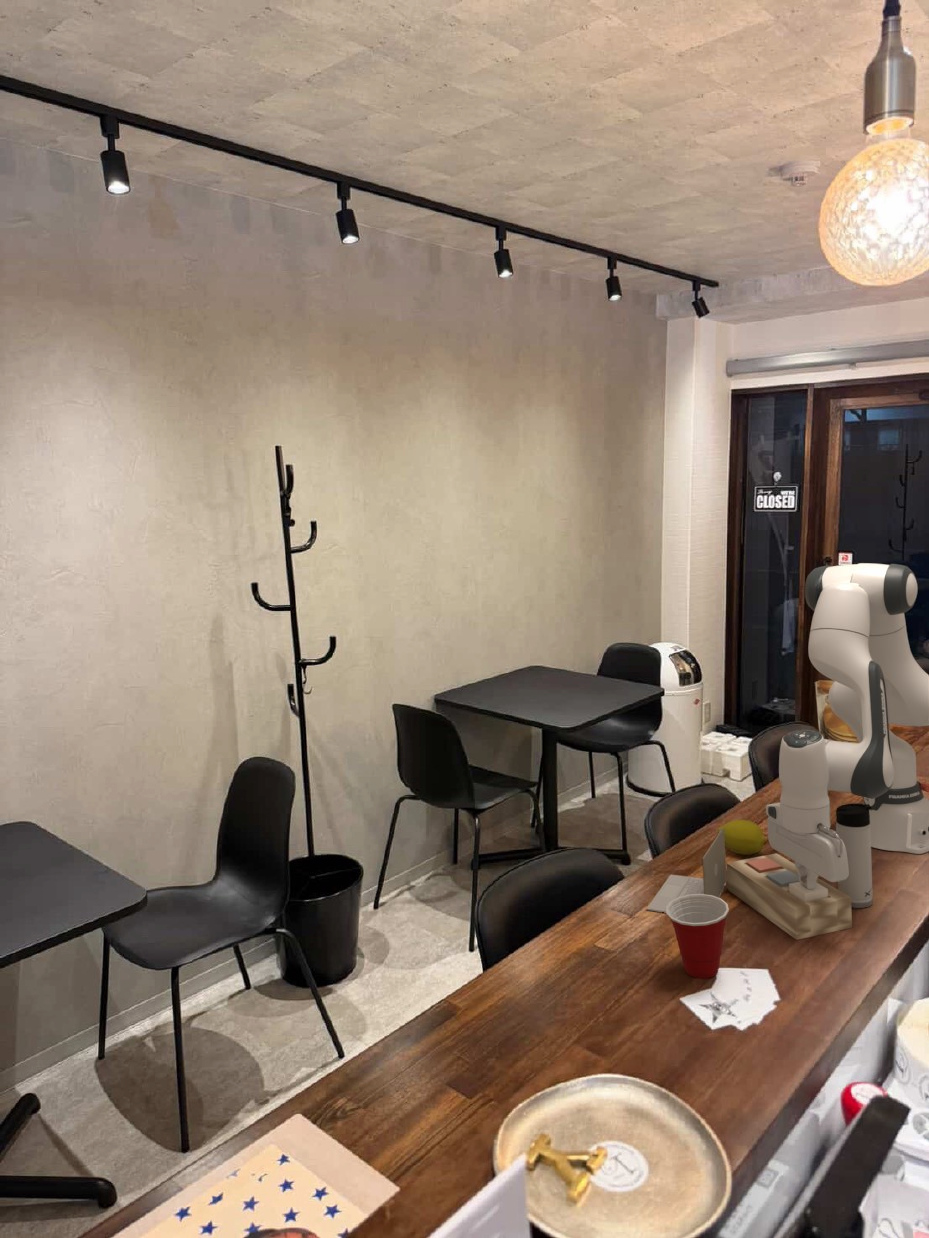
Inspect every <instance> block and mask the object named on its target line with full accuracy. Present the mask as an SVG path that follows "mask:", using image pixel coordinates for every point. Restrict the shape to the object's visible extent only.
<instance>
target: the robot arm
mask: <svg viewBox="0 0 929 1238" xmlns="http://www.w3.org/2000/svg"><path fill="white" fill-rule="evenodd" d="M915 575H916V574H915V573H914V572H913V571H912V570H911V569H910V567H908V566H907V565H903V564H897V563H890V564H883V563H867V562H865V563H864V562H861V563H860V562H859V563H857V564H856V563H855V564H842V565H841V564H840V565H834V566H832V565H829V564H828V565H823V566H819V567H816V568H813V570H812V571H811V572H810V573H809V574H808V575H807V578H806V580H805V584H804V597H805V601H806V604H807V606H808V607H809V608H810V609H811V610H812V611H813V612H814V613H813V615H812V618H811V619H812V620H811V625H810V631H809V636H808V637H809V638H808V648H807V650H808V657H809V660H810V663H811V664H812V666H813V667H814V668H815V669H816V670H817V671H818V672H819V673H820V674H821V675H823V676H824V677H826V678H827V679H829V680H834V681H835V682H834V683H833V684H832V686H831V688H830V690H829V695H828V700H829V705H830V707H831V709H832V711H833V712H834V714H835V715H836V716H837V717H839V718H840V719H842V720H843V721H844V722H845V723H846V724H847V725H848V726H849V727H850V728H851V730H852V731H853V732H854V734H855V736H856V737H857V739H858V742H859V743H849V742H840V741H833V740H827V739H824V738H823V736H822V734H820V731H817V730H813V729H797V730H793V731H790V732H787V733H786V734H784V735H783V736H782V739H781V742H780V747H779V758H778V759H779V760H778V774H779V775H778V777H779V778H778V779H779V784H780V786H781V794H780V798H779V799H780V800H779V802H774V803H771V804H766V806H765V814H766V815H767V816H768V817H767V821H766V824H767V826H766V827H767V838H768V839H767V840H768V842H769V845H770V847H771V849H773V850H775V851H777V852H778V853H781V854H782V855H784V856H785V857H787V858H789V859H790V860H792V861H794V862H793V863H794V864H795V867H796V870H797V872H798V875H799V883H800V884H802V885H803V886H805V887H807V888H808V889H815V888H816V887H817V883H816V880H817V878H819V877H822V878H823V879H825V880H826V881H828V882H830V883H836V882H837V883H838V881H842V880H846V878H847V877H848V875H849V869H848V860H847V853H846V848H845V845H844V843H843V841H842V840H841V839H840V837H839V836H838V833H837V832H836V830H835V829H831V826H832V825H831V823H832V822H831V800H830V796H829V792H828V793H827V790H828V791H834V792H841V793H849V794H852V795H854V796H857V797H858V796H859V797H862V800H863V804H864V805H865V804H869V805H870V806H871V808H872V810H869V815H870V831H871V848H874V849H879V850H884V851H892V852H904V853H910V854H917V855H922V854H925V853H928V852H929V799H928V798H927V797H926V796H925V794H924V792H926V793H928V794H929V783H927V782H924V781H923V782H922V783H921V782H920V781H918V780H917V754H916V751H915V750H914V747H912V745H911V744H909V742H908V741H905V740H904V739H902V738H900V737H899V736H897V735H895V733H893V732H892V730H891V729H890V727H889V726H890V725H896V726H907V727H929V674H928V673H927V672H926V671H925V670H924V669H922V667H921V666H920V664H918V663H917V661H916V659H915V657H914V655H913V653H912V651H911V648H910V643H909V639H908V638H909V637H908V632H907V625H906V624H907V623H906V617H905V613H907V612H908V611H909V610H911V609H912V608H913V607H914V605H915V602H916V599H917V595H918V589H919V588H918V582H917V579H916V576H915ZM923 791H924V792H923Z"/></svg>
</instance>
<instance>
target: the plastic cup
mask: <svg viewBox="0 0 929 1238" xmlns="http://www.w3.org/2000/svg"><path fill="white" fill-rule="evenodd" d="M729 910H730V909H729V905H728V903H727V902H726V901H725V900H723V899H722V898H721V897H719V898H718V897H715V896H713V895H705V894H691V895H685V896H681V897H678V898H676V899H674V900H672V901H671V902H670V903H669V904H668V905H667V907H666V913H665V914H666V915H667V917H669V919H670V922H671V923H672V926H673V928H674V932H675V937H676V941H677V944H678V945H677V946H678V950H679V953H680V955H681V959H682V964H683V968H684V970H685V973H687V975H688V976H691V977H693V978H698V979H710V978H713V977H715V976H716V975H717V974H718V973H719V969H720V963H721V962H720V961H721V955H722V949H723V941H724V931H725V925H726V921H727V915H728V914H729V912H730V911H729Z"/></svg>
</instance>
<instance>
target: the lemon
mask: <svg viewBox="0 0 929 1238" xmlns="http://www.w3.org/2000/svg"><path fill="white" fill-rule="evenodd" d="M723 827H724V840H725V847H727V848H728V849H729V850H731V851H732V852H734V853H737V854H739V855H743V856H749V855H750V856H751V855H754V854H758V853H759V852H761V850H762V849H763V848H764V847H763V846H764V844H766V841H767V840H766V838H765V836H764V832H763V830H762V828H761V826H759V824H756V823H755V822H753V821H751V820H747V819H734V820H731V821H729V822H727V823H725V824H723V825H721V826H719V828H718V829H717V833H718V834H719V832H720V831H721V829H722V828H723ZM718 834H717V835H718Z"/></svg>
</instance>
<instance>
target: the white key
mask: <svg viewBox="0 0 929 1238" xmlns="http://www.w3.org/2000/svg"><path fill="white" fill-rule="evenodd" d="M816 883H817V882H816ZM789 893H790V894H792V895H793V896H795V897H797V898H798V899H800V900H801V901H803V902H804V903H805V902H810V901H815V900H820V899H825V898H828V889H827V888H825V887H823V886H822V885H820V884H818V883H817V887H816V888H815V889H808V888H807V887H805V886H803V885H802V884H800V883H799V882H795V883H790V884H789Z"/></svg>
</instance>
